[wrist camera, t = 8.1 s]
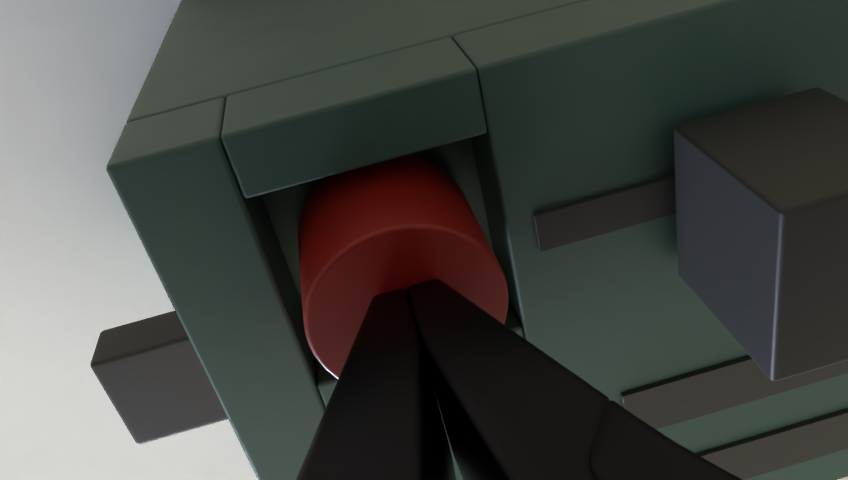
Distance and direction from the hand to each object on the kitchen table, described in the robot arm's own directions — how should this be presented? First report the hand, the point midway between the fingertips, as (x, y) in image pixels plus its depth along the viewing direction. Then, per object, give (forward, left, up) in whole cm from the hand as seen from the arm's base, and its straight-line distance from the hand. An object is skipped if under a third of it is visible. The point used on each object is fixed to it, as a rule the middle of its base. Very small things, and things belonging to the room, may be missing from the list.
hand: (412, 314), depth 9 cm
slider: (-5, 0, -1) cm, 5 cm away
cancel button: (0, 0, -2) cm, 2 cm away
